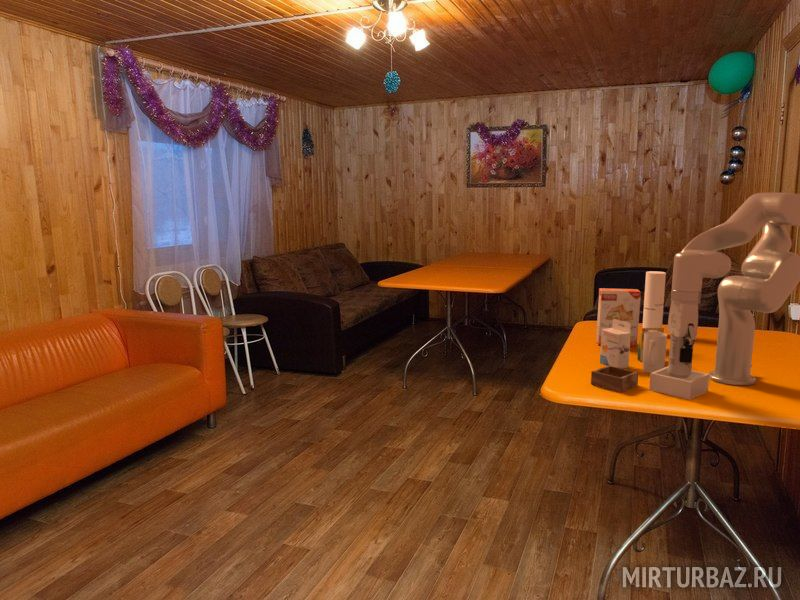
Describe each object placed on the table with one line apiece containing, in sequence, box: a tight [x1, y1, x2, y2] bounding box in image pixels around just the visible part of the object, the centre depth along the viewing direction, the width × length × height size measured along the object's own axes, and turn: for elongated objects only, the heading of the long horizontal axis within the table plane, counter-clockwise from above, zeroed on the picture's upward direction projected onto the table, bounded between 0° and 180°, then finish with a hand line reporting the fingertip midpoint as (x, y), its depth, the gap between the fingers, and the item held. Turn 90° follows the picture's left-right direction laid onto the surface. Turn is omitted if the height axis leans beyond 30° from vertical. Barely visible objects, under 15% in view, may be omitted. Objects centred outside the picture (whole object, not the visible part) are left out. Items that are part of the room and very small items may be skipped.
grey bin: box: [648, 365, 710, 401], centre depth 175 cm, size 12×12×5 cm
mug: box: [642, 332, 668, 373], centre depth 193 cm, size 10×7×12 cm, turn 146°
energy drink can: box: [667, 329, 694, 378], centre depth 174 cm, size 6×6×15 cm
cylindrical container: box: [641, 270, 667, 332], centre depth 242 cm, size 7×7×25 cm
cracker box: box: [595, 287, 642, 347], centre depth 227 cm, size 14×6×21 cm, turn 81°
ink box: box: [599, 319, 631, 369], centre depth 200 cm, size 8×5×15 cm, turn 25°
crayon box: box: [637, 327, 665, 363], centre depth 206 cm, size 7×3×12 cm, turn 89°
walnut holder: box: [590, 365, 639, 393], centre depth 181 cm, size 10×10×4 cm
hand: (680, 358), depth 174 cm, fingers closed on energy drink can, 6 cm apart
